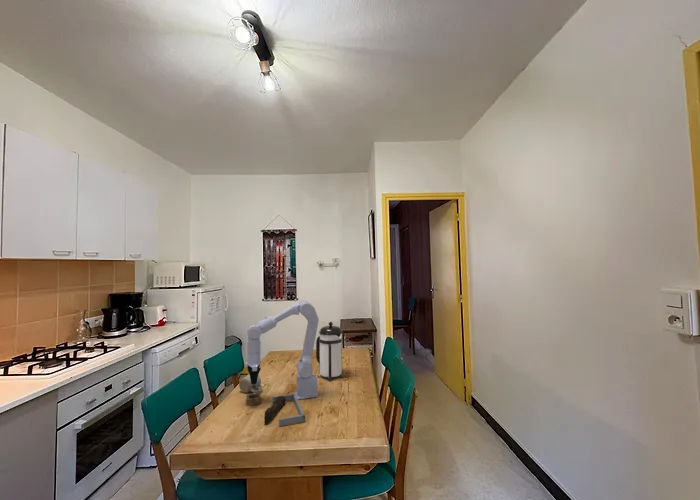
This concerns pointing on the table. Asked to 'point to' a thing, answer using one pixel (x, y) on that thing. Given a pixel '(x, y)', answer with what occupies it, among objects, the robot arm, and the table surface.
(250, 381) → the rod
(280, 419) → the u-shaped frame
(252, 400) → the hollow square frame
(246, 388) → the ceramic mug
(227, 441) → the table surface
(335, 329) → the coffee press
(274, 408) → the hand tool
